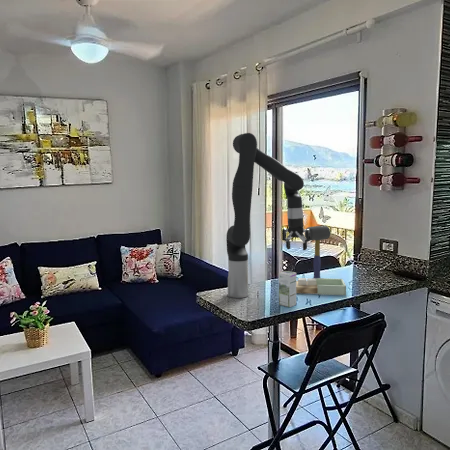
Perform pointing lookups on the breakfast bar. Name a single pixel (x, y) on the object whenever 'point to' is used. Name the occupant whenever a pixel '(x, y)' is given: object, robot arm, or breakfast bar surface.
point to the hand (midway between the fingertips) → (296, 249)
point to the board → (306, 288)
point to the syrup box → (287, 288)
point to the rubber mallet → (318, 245)
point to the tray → (331, 286)
